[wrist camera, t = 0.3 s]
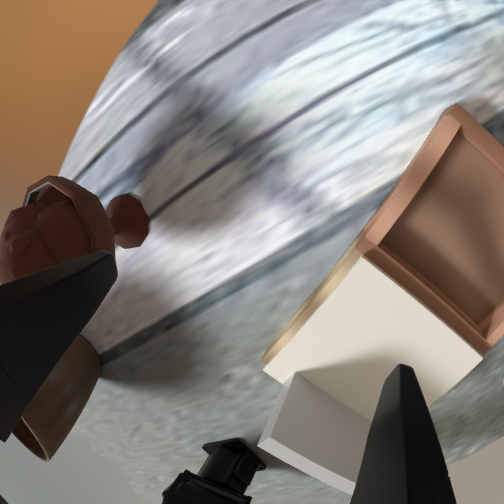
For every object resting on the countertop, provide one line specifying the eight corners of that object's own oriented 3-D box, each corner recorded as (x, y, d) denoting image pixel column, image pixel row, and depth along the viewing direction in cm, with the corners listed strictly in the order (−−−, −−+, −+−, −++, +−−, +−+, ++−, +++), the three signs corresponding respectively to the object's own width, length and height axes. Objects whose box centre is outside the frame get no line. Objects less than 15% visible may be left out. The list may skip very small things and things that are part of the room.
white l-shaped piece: (378, 437, 23) (371, 505, 16) (264, 365, 25) (229, 431, 18) (481, 354, 18) (508, 421, 11) (361, 254, 20) (360, 306, 13)
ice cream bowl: (173, 167, 26) (20, 192, 12) (170, 286, 30) (53, 370, 16) (90, 163, 29) (-38, 185, 15) (94, 263, 33) (-15, 317, 19)
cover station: (382, 416, 26) (381, 437, 24) (271, 341, 28) (260, 360, 25) (556, 228, 16) (574, 237, 14) (444, 109, 18) (456, 103, 15)
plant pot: (136, 366, 35) (49, 446, 21) (110, 410, 42) (47, 471, 27) (59, 286, 36) (-35, 337, 22) (48, 345, 43) (-20, 392, 28)
